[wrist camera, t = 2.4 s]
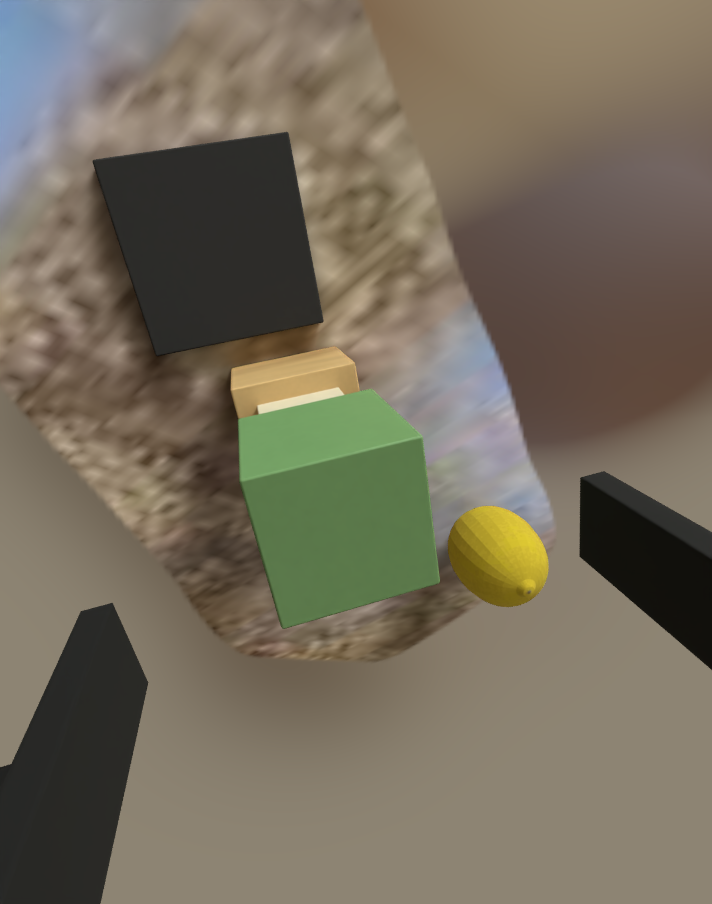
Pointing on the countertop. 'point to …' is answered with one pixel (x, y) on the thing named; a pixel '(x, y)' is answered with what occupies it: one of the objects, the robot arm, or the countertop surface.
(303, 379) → the maple block
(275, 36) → the countertop surface
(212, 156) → the coaster
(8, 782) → the robot arm
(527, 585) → the lemon
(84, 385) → the countertop surface
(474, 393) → the countertop surface
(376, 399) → the green block
